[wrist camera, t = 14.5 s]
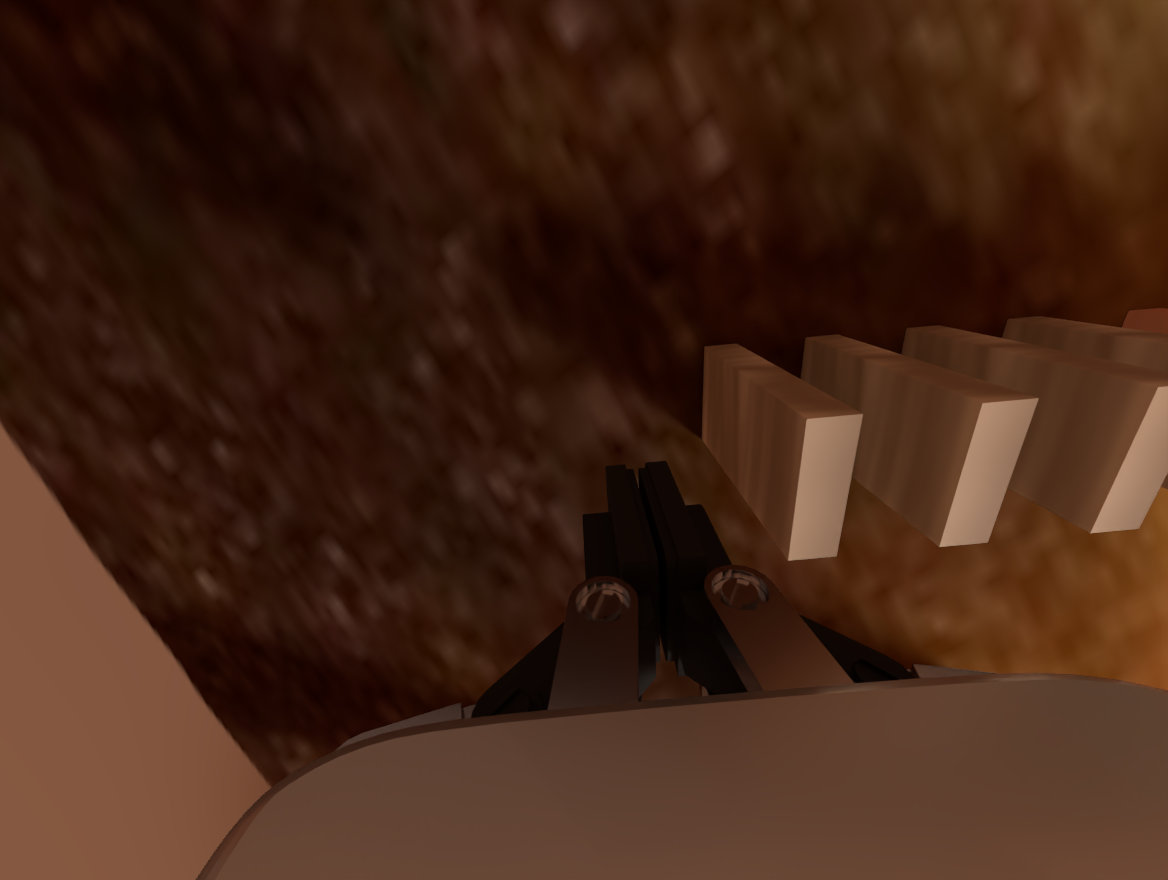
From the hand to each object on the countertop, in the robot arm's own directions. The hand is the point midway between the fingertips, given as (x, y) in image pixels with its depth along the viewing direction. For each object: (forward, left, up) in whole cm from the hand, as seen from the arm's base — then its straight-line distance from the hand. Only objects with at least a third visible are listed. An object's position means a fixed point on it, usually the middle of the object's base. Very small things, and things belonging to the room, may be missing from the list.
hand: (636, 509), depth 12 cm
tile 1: (+6, -1, -11) cm, 12 cm away
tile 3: (+16, -1, -11) cm, 19 cm away
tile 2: (+11, -1, -11) cm, 15 cm away
